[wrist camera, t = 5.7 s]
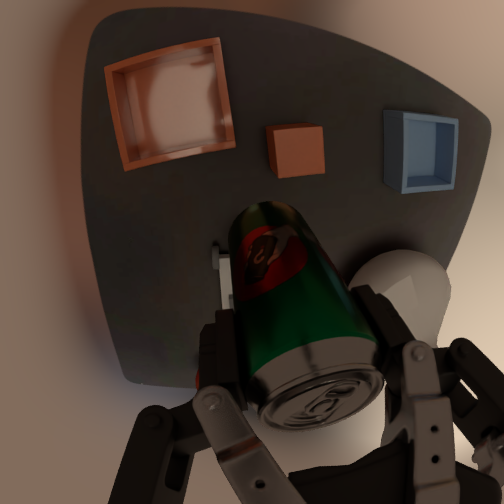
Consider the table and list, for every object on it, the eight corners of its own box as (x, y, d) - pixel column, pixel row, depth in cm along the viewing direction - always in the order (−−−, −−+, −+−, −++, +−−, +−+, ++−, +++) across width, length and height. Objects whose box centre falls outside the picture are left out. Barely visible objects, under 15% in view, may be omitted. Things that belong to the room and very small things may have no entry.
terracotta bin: (118, 71, 23) (103, 67, 19) (219, 46, 23) (219, 36, 19) (136, 162, 29) (124, 171, 25) (234, 141, 29) (236, 147, 25)
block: (265, 126, 29) (273, 130, 24) (307, 122, 29) (322, 126, 25) (270, 167, 31) (278, 178, 27) (310, 162, 31) (325, 173, 27)
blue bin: (382, 109, 28) (403, 112, 24) (437, 114, 29) (458, 119, 25) (383, 182, 34) (401, 193, 30) (434, 178, 34) (453, 189, 30)
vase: (352, 221, 36) (433, 314, 20) (435, 240, 40) (506, 310, 23) (312, 320, 45) (349, 418, 29) (393, 320, 49) (437, 395, 32)
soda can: (217, 255, 18) (224, 435, 8) (245, 186, 16) (294, 353, 6) (284, 275, 20) (338, 433, 9) (317, 213, 17) (422, 362, 7)
